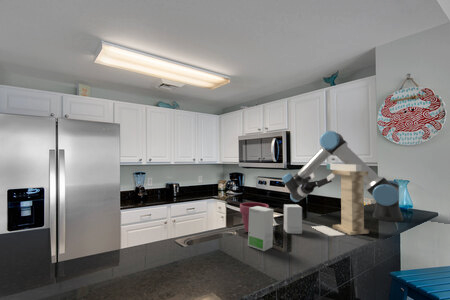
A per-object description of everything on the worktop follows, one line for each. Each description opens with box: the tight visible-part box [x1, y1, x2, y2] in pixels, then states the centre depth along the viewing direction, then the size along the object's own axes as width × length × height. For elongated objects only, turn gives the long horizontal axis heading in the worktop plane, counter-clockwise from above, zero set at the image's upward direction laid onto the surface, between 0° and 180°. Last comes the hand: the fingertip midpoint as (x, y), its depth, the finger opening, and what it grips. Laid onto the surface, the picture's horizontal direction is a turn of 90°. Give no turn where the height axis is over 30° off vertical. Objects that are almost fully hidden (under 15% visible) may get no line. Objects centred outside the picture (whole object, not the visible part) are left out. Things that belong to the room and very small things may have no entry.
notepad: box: [311, 225, 346, 237], centre depth 119 cm, size 8×15×1 cm, turn 16°
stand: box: [331, 170, 370, 236], centre depth 121 cm, size 11×12×30 cm
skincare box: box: [247, 206, 275, 252], centre depth 98 cm, size 8×7×16 cm
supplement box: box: [283, 204, 303, 235], centre depth 119 cm, size 7×7×13 cm
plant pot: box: [239, 201, 270, 232], centre depth 120 cm, size 14×14×13 cm
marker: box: [326, 163, 361, 171], centre depth 126 cm, size 3×21×3 cm, turn 16°
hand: (324, 174), depth 140 cm, fingers open, 13 cm apart
